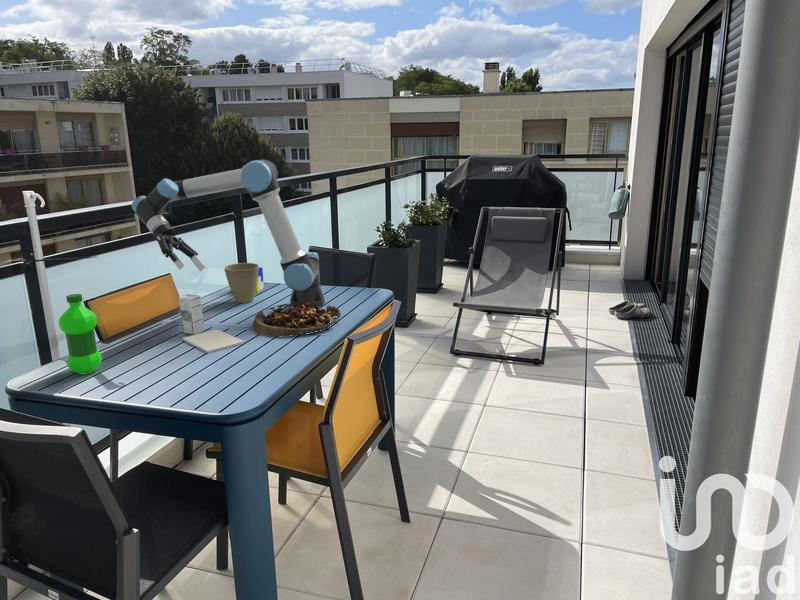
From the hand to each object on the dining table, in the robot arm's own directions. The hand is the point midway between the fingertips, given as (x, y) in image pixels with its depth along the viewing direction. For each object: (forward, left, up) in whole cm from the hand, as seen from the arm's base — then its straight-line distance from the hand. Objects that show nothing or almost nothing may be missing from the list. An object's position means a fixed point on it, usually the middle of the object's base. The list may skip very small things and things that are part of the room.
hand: (192, 268), depth 237 cm
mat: (-11, +25, -22) cm, 35 cm away
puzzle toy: (-11, -52, -22) cm, 58 cm away
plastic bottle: (+23, +50, -22) cm, 59 cm away
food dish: (-39, +6, -23) cm, 46 cm away
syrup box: (-1, +13, -22) cm, 26 cm away
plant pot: (-12, -31, -22) cm, 40 cm away
